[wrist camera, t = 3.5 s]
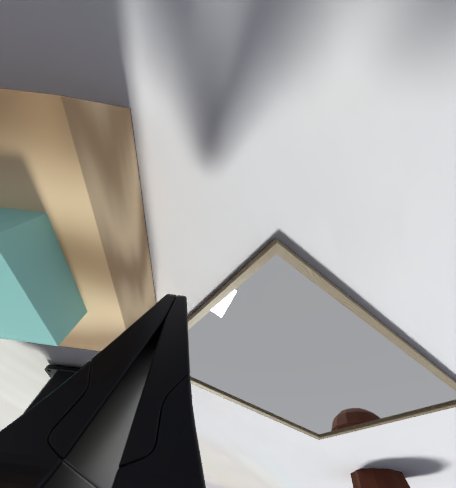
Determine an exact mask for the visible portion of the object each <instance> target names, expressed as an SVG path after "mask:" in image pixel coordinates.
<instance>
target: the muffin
mask: <svg viewBox="0 0 456 488" xmlns="http://www.w3.org/2000/svg"><path fill="white" fill-rule="evenodd" d="M351 478H352V483H353V488H410V486H409V485H408V483H407V481H406V479H405V477H404V476H403V474H402V472H398V471H394V470H390V469H376V468H369V469H363V470H356V471H355V472H353V473H351Z"/></svg>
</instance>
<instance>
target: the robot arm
mask: <svg viewBox="0 0 456 488" xmlns="http://www.w3.org/2000/svg"><path fill="white" fill-rule="evenodd" d="M45 371H46V372H47V374H48V375H49V376H50V377H51V378H50V380H49V381H48V382H47V384H46V385H45V386H44V387H43V389H42V390H41V391H40V392H39V394H38V395H37V396H36V398H35V399H34V400H33V401H32V403H31V404H30V405H29V407H28V408H27V409H26V410H25V412H24V414H23V415H21V416H20V417H19V418H17V419H16V420H15V421H13V422H12V423H11V424H9V425H8V426H7V427H5V428H4V429H3V430H2V431H0V488H206V486H205V480H204V474H203V468H202V462H201V456H200V451H199V445H198V439H197V433H196V427H195V420H194V413H193V406H192V394H191V378H190V360H189V339H188V318H187V298H186V296H180V295H178V296H176V295H173V294H167V295H166V296H164V297H163V298H162V299H161V300H160V301H159V302H157V303H156V304H155V305H154V306H153V307H152V308H150V309H149V310H148V311H147V312H146V313H145V314H144V315H142V316H141V317H140V318H139V319H138V320H137V321H135V322H134V323H133V324H132V325H131V326H130V327H128V328H127V329H126V330H125V331H124V332H123V333H122V334H120V335H119V336H118V337H117V338H116V339H115V340H113V341H112V342H111V343H110V344H109V345H108V346H106V347H105V348H104V349H103V350H102V351H101V352H100V353H98V354H97V355H96V356H95V357H94V358H93V359H92V360H91V361H89V362H88V363H87V364H85V365H84V366H83V367H82V368H81V369H77V368H70V367H62V366H55V365H48V366H47V367H46V368H45Z"/></svg>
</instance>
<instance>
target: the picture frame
mask: <svg viewBox="0 0 456 488" xmlns="http://www.w3.org/2000/svg"><path fill="white" fill-rule="evenodd" d="M188 339H189V360H190V378H191V384H193V385H195V386H198V387H200V388H202V389H205V390H207V391H209V392H211V393H214V394H216V395H218V396H220V397H223V398H225V399H227V400H230V401H232V402H234V403H236V404H239V405H241V406H243V407H245V408H248V409H250V410H252V411H255V412H257V413H259V414H261V415H264V416H266V417H268V418H270V419H273V420H275V421H277V422H280V423H282V424H284V425H286V426H289V427H291V428H293V429H295V430H298V431H300V432H302V433H305V434H307V435H309V436H311V437H314V438H316V439H318V440H320V439H324V438H328V437H333V436H337V435H341V434H345V433H349V432H353V431H358V430H362V429H366V428H370V427H374V426H378V425H383V424H387V423H391V422H395V421H399V420H403V419H407V418H412V417H416V416H420V415H424V414H428V413H432V412H437V411H441V410H445V409H449V408H453V407H456V381H455V380H454V379H452V378H451V377H450V376H449V375H447V374H446V373H445V372H444V371H442V370H441V369H440V368H439V367H437V366H436V365H435V364H434V363H432V362H431V361H430V360H428V359H427V358H426V357H425V356H423V355H422V354H421V353H420V352H418V351H417V350H416V349H415V348H413V347H412V346H411V345H410V344H408V343H407V342H406V341H405V340H403V339H402V338H401V337H400V336H398V335H397V334H396V333H395V332H393V331H392V330H391V329H390V328H388V327H387V326H386V325H385V324H383V323H382V322H381V321H380V320H378V319H377V318H376V317H375V316H373V315H372V314H371V313H370V312H368V311H367V310H366V309H364V308H363V307H362V306H361V305H359V304H358V303H357V302H356V301H354V300H353V299H352V298H351V297H349V296H348V295H347V294H346V293H344V292H343V291H342V290H341V289H339V288H338V287H337V286H336V285H334V284H333V283H332V282H331V281H329V280H328V279H327V278H326V277H324V276H323V275H322V274H321V273H319V272H318V271H317V270H316V269H314V268H313V267H312V266H311V265H309V264H308V263H307V262H306V261H304V260H303V259H302V258H300V257H299V256H298V255H297V254H295V253H294V252H293V251H292V250H290V249H289V248H288V247H287V246H285V245H284V244H283V243H282V242H280V241H279V240H278V239H277V238H275V239H274V240H273V241H272V242H271V243H270V244H268V245H267V246H266V247H265V248H264V249H263V250H262V251H261V252H260V253H259V254H257V255H256V256H255V257H254V258H253V259H252V260H251V261H250V262H249V263H248V264H247V265H245V266H244V267H243V268H242V269H241V270H240V271H239V272H238V273H237V274H236V275H235V276H233V277H232V278H231V279H230V280H229V281H228V282H227V283H226V284H225V285H224V286H222V287H221V288H220V289H219V290H218V291H217V292H216V293H215V294H214V295H213V296H212V297H210V298H209V299H208V300H207V301H206V302H205V303H204V304H203V305H202V306H201V307H200V308H198V309H197V310H196V311H195V312H194V313H193V314H192V315H191V316H190V317H189V318H188Z"/></svg>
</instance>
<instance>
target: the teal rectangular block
mask: <svg viewBox="0 0 456 488" xmlns="http://www.w3.org/2000/svg"><path fill="white" fill-rule="evenodd" d="M86 313H87V310H86V307H85V305H84V302H83V300H82V297H81V295H80V293H79V290H78V288H77V285H76V283H75V281H74V278H73V276H72V273H71V271H70V268H69V266H68V264H67V261H66V259H65V256H64V254H63V252H62V249H61V247H60V244H59V242H58V239H57V237H56V235H55V232H54V230H53V227H52V225H51V222H50V220H49V218H48V215H47V213H42V212H34V211H26V210H18V209H10V208H2V207H0V338H1V339H9V340H16V341H23V342H31V343H38V344H45V345H53V346H59V345H60V343H61V342H62V341H63V340H64V339H65V338H66V336H67V335H68V334H69V333H70V332H71V331H72V329H73V328H74V327H75V326H76V325H77V324H78V323H79V321H80V320H81V319H82V318H83V317H84V316H85V314H86Z"/></svg>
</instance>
